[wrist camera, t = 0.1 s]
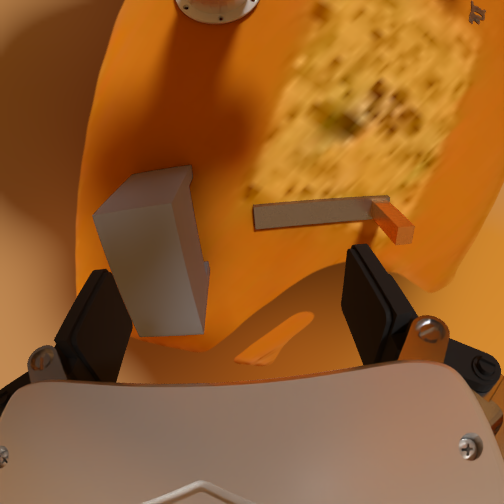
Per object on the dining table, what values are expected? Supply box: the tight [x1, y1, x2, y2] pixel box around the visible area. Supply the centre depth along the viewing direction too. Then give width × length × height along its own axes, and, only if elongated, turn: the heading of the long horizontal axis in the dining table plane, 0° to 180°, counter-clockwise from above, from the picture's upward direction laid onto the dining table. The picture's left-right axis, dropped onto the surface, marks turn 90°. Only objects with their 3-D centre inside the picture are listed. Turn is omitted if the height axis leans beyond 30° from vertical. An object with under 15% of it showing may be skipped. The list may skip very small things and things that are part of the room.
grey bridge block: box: [92, 165, 210, 337], centre depth 43 cm, size 20×10×16 cm, turn 5°
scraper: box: [253, 195, 415, 245], centre depth 45 cm, size 24×4×11 cm, turn 95°
